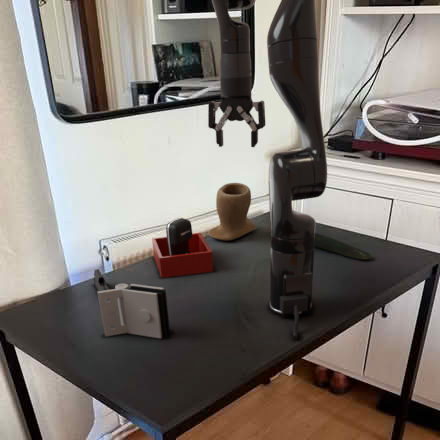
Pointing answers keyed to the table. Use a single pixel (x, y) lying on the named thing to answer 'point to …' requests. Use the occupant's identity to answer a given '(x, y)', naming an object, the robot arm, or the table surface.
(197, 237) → the open red box
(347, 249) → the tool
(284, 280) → the robot arm
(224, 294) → the table surface
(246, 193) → the stone cup
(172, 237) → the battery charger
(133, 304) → the hinge
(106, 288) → the lighting fixture
